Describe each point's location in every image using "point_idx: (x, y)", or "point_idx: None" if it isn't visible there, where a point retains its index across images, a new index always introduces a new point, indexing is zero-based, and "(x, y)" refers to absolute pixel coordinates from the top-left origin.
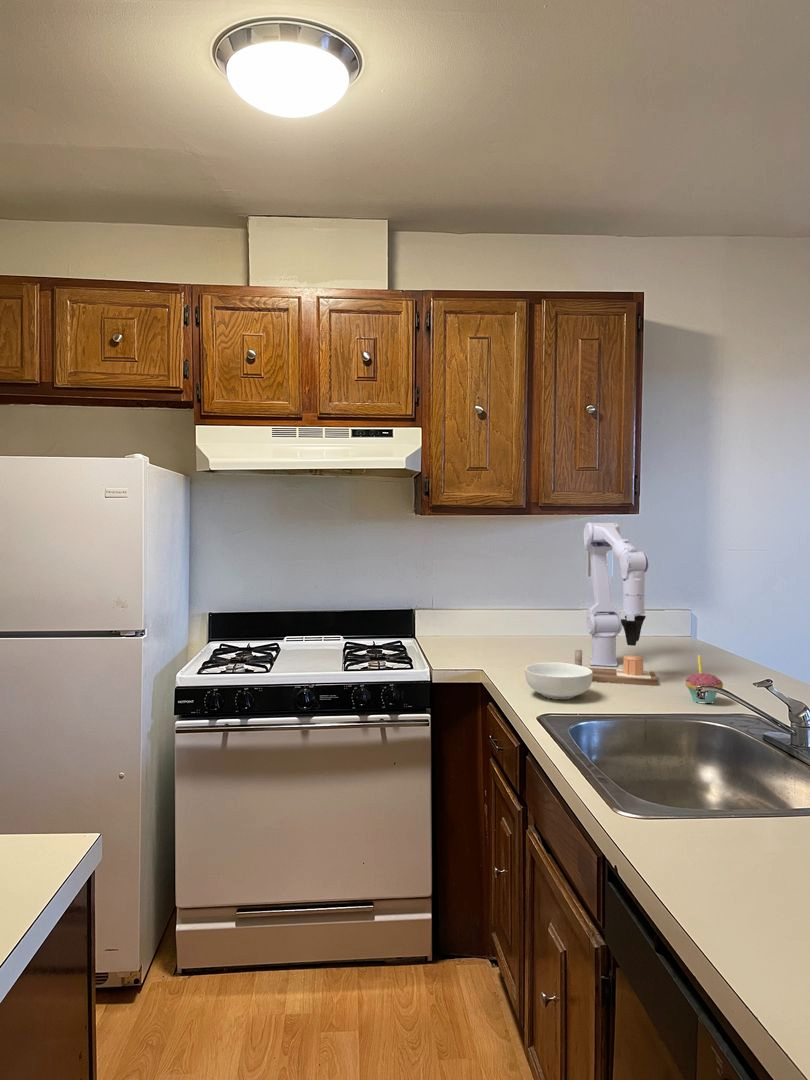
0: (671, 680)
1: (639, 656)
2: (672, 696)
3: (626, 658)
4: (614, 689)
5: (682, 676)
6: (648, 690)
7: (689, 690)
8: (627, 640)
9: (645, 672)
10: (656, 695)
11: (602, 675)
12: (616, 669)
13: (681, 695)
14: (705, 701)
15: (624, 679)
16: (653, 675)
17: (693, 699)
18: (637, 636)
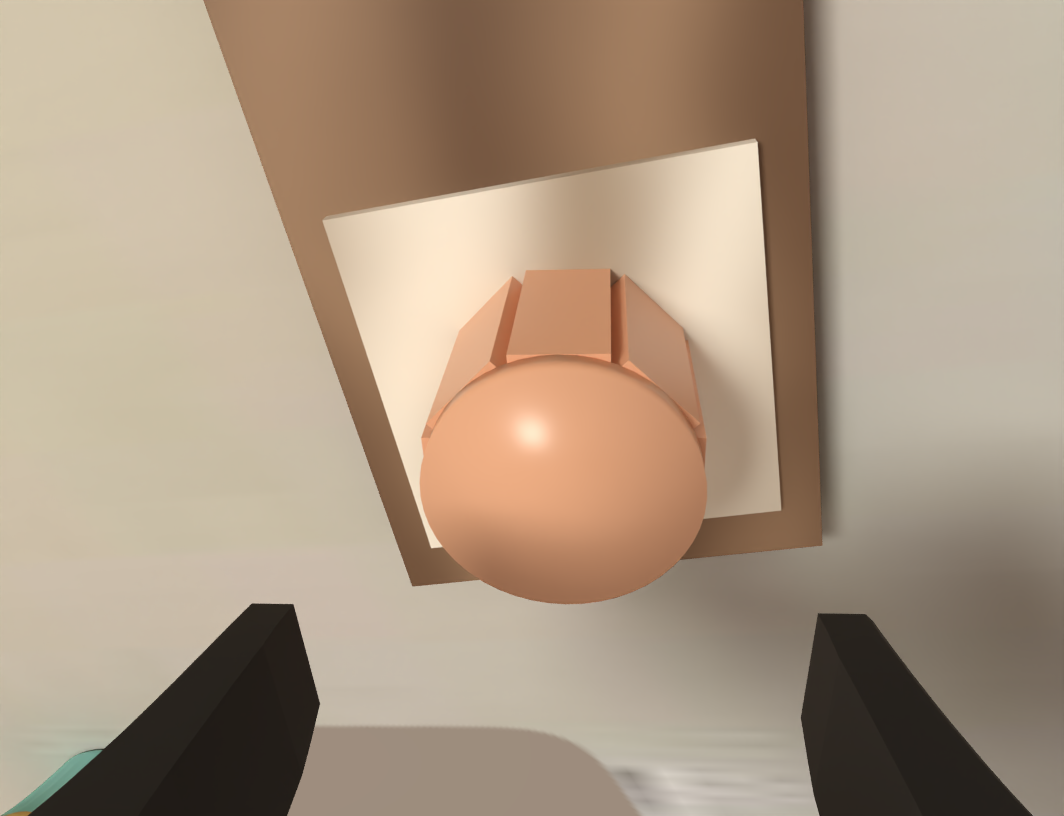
0: (697, 634)
1: (650, 560)
2: (130, 652)
3: (441, 417)
4: (14, 226)
5: None
6: (200, 504)
7: (30, 801)
8: (195, 677)
9: None
10: (76, 564)
11: (306, 15)
12: (732, 149)
13: None
14: None
15: (316, 303)
16: None
17: (65, 765)
18: (825, 794)
